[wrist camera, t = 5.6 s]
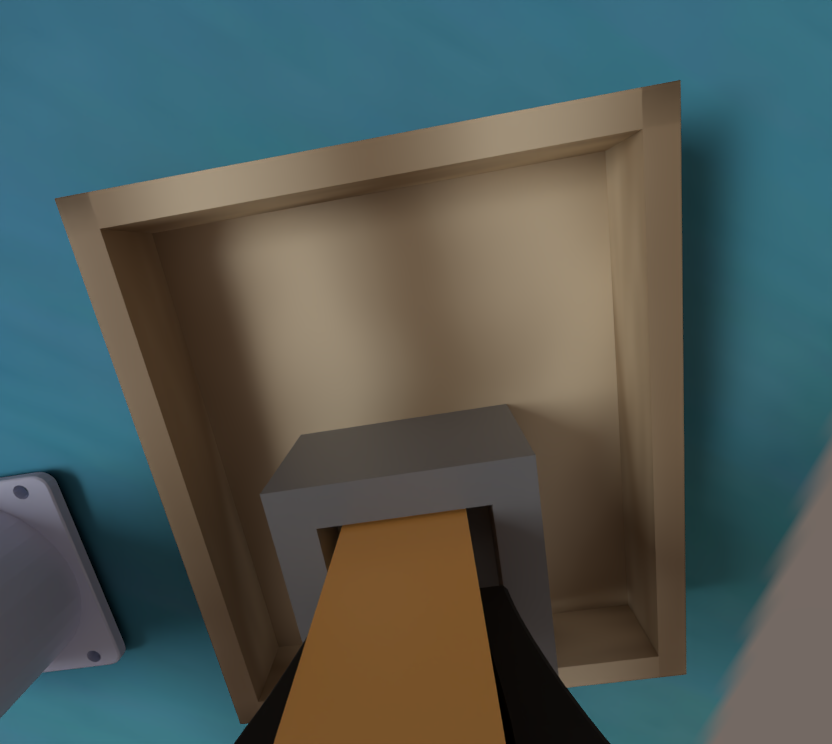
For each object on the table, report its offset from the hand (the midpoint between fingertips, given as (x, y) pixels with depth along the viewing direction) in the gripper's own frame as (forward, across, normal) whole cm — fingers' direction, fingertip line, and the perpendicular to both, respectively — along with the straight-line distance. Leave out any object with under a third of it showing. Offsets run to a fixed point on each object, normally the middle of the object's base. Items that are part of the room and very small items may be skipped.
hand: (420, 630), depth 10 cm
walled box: (+5, 0, -3) cm, 6 cm away
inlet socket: (+4, 0, 0) cm, 4 cm away
